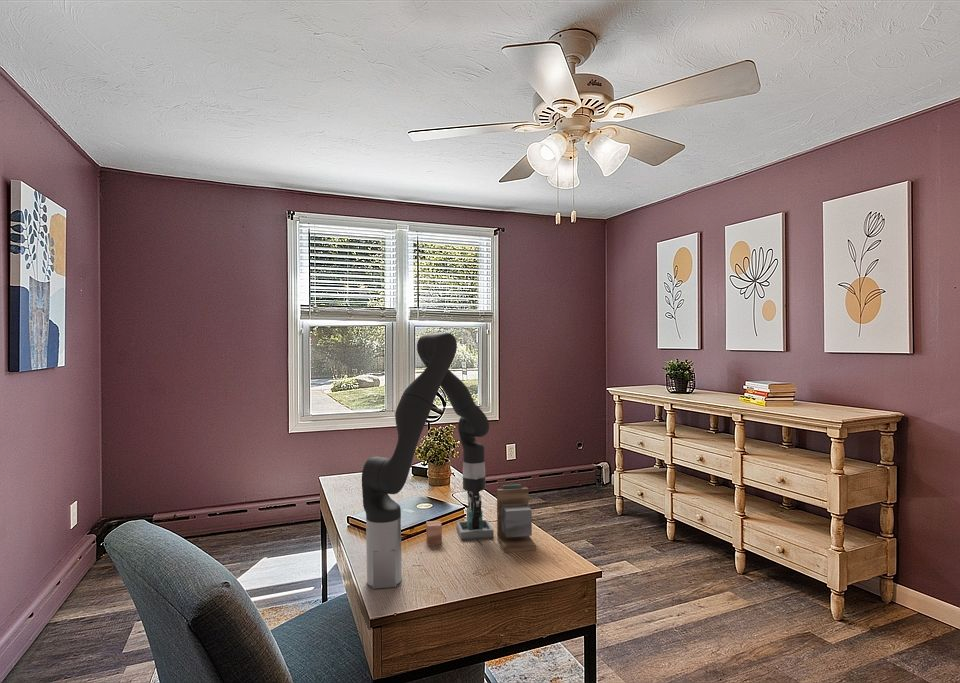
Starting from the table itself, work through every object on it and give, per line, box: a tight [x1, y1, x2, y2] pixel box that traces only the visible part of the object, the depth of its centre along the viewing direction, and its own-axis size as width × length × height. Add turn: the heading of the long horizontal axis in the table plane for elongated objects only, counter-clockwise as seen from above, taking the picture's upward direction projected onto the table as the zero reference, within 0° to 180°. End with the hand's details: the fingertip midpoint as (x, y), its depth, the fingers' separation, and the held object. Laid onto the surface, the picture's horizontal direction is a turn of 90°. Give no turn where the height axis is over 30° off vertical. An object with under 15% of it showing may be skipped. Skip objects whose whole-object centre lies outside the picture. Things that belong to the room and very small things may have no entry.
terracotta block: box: [425, 520, 443, 546], centre depth 182 cm, size 4×4×6 cm
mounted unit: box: [496, 483, 537, 553], centre depth 178 cm, size 10×10×18 cm
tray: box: [456, 519, 494, 541], centre depth 189 cm, size 11×11×2 cm
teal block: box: [466, 507, 484, 530], centre depth 189 cm, size 4×4×6 cm
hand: (474, 525), depth 189 cm, fingers closed on teal block, 4 cm apart
